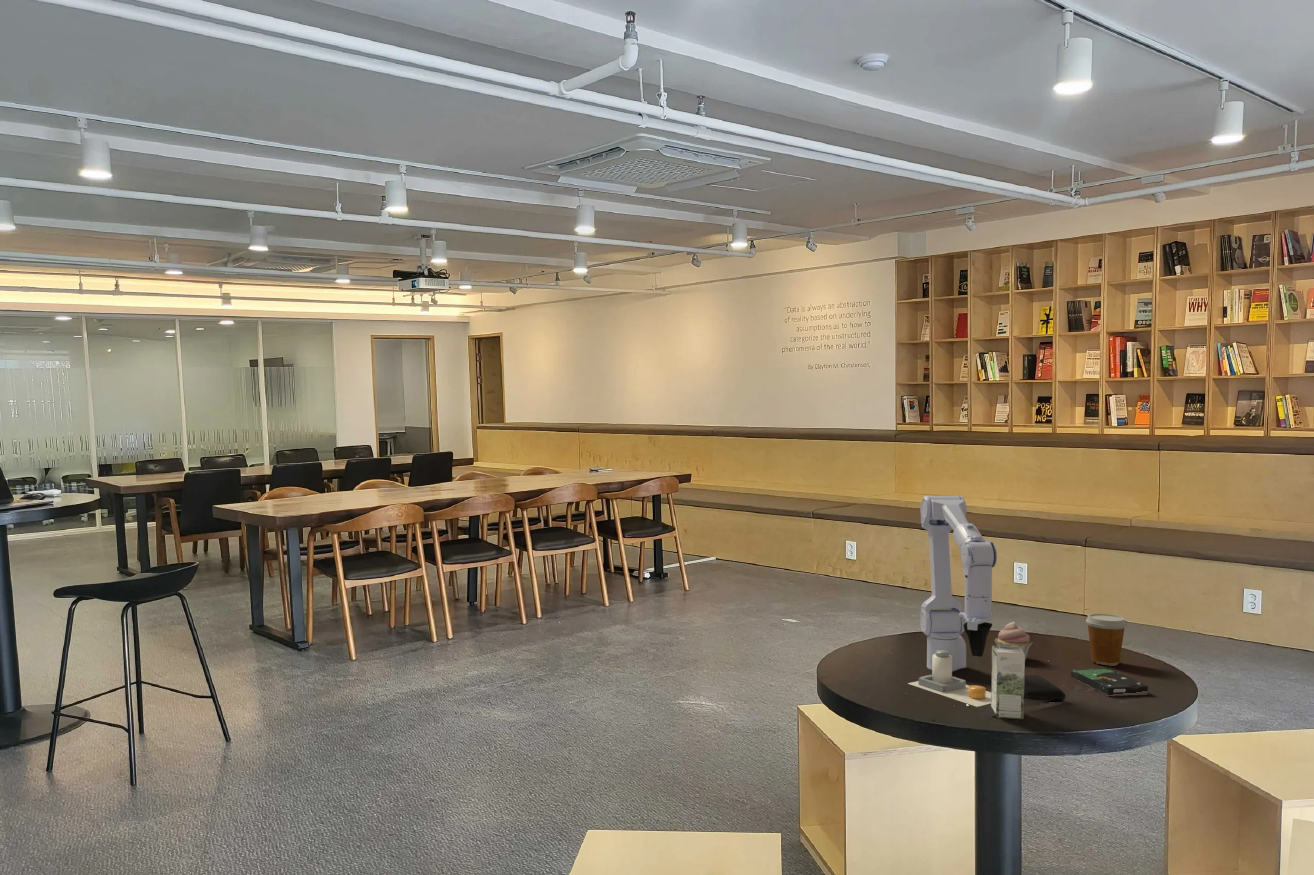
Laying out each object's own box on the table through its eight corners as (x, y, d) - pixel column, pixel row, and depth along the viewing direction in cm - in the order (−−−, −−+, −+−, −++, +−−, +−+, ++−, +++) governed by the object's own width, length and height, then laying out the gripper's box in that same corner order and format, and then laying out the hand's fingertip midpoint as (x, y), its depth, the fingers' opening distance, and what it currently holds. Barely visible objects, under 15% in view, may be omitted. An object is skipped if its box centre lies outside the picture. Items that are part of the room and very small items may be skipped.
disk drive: (1149, 697, 212) (1108, 678, 226) (1149, 685, 212) (1108, 667, 226) (1108, 699, 210) (1069, 679, 225) (1108, 687, 210) (1069, 668, 225)
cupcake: (1034, 665, 236) (1034, 626, 236) (995, 662, 239) (996, 624, 238) (1030, 656, 245) (1030, 618, 245) (993, 653, 248) (993, 616, 247)
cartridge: (941, 681, 218) (941, 648, 218) (955, 686, 214) (956, 652, 214) (928, 684, 216) (928, 650, 215) (942, 689, 212) (943, 655, 212)
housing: (939, 680, 223) (939, 670, 223) (1009, 702, 206) (1010, 691, 206) (907, 687, 217) (907, 677, 217) (977, 711, 200) (977, 699, 200)
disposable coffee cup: (1089, 656, 245) (1089, 611, 244) (1128, 662, 239) (1129, 616, 239) (1081, 664, 237) (1082, 618, 236) (1122, 670, 231) (1123, 623, 231)
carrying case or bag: (995, 685, 220) (1021, 705, 205) (995, 673, 220) (1022, 692, 205) (1039, 685, 220) (1069, 705, 205) (1039, 672, 220) (1069, 691, 205)
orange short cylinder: (975, 693, 209) (975, 684, 209) (989, 697, 206) (989, 688, 206) (965, 695, 207) (965, 686, 207) (978, 700, 204) (978, 691, 204)
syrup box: (1018, 711, 200) (1019, 645, 199) (1024, 720, 194) (1025, 652, 194) (990, 709, 201) (991, 643, 200) (995, 718, 195) (996, 651, 195)
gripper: (965, 588, 214) (964, 646, 215) (953, 599, 201) (952, 660, 202) (997, 591, 211) (996, 649, 211) (987, 602, 198) (986, 665, 198)
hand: (977, 655), depth 206 cm, fingers closed
